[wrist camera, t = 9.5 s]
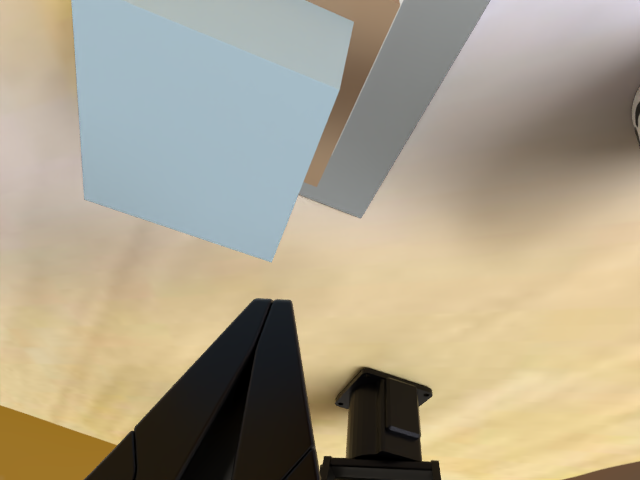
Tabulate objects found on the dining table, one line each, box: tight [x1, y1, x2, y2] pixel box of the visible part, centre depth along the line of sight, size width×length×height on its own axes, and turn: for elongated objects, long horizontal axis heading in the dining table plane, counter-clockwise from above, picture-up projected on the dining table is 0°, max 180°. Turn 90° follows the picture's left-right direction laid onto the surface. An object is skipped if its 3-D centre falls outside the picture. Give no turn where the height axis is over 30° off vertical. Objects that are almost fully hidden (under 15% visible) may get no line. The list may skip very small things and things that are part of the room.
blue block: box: [71, 0, 354, 262], centre depth 11 cm, size 5×5×6 cm
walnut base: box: [303, 0, 400, 187], centre depth 15 cm, size 7×7×4 cm
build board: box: [299, 0, 490, 218], centre depth 17 cm, size 12×12×1 cm
